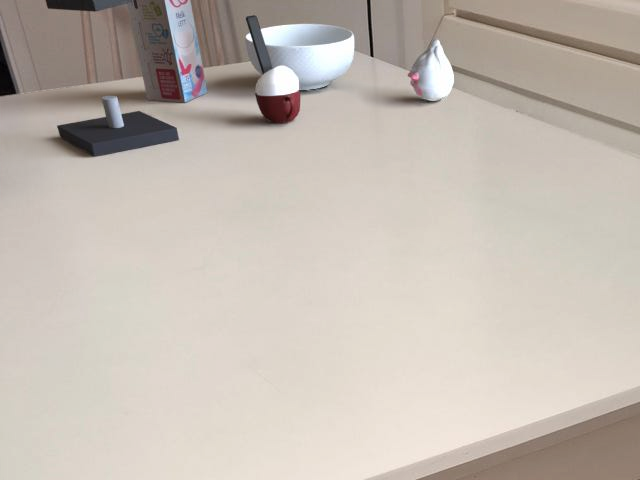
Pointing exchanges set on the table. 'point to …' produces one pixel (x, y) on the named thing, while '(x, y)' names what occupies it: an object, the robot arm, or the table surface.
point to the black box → (84, 4)
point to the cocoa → (274, 82)
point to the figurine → (432, 73)
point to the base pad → (117, 131)
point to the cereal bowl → (307, 51)
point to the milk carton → (167, 49)
